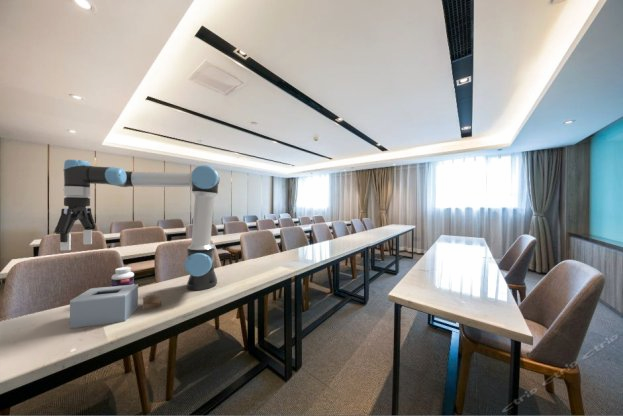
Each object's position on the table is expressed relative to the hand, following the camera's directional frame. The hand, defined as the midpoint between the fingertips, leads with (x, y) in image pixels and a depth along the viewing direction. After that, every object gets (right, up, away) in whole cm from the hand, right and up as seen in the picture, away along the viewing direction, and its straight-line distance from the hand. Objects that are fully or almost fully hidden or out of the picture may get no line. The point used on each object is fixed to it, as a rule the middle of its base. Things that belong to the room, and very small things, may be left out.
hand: (77, 247), depth 91 cm
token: (+30, -27, +3) cm, 40 cm away
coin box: (+18, -27, -6) cm, 33 cm away
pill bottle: (+10, -27, +10) cm, 30 cm away
